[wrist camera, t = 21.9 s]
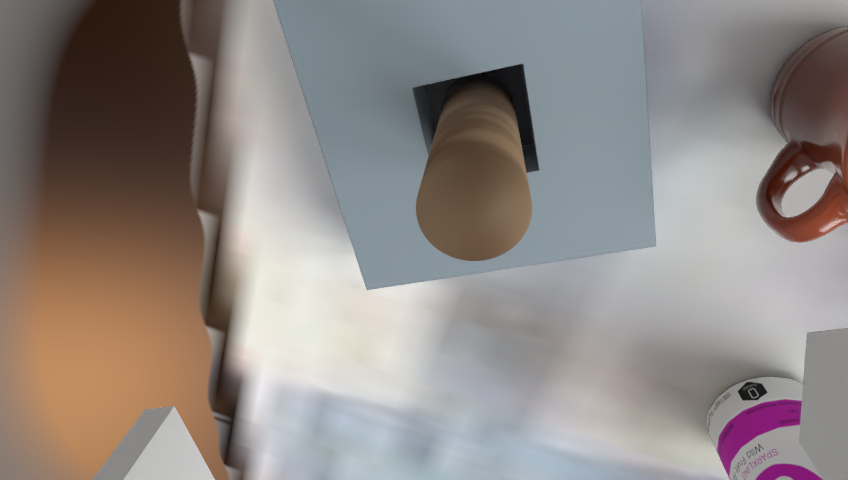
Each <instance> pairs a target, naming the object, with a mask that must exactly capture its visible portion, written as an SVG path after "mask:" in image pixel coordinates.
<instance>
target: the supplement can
mask: <svg viewBox="0 0 848 480" xmlns="http://www.w3.org/2000/svg"><path fill="white" fill-rule="evenodd" d="M802 393H803V384H802V383H799V382H797V381H795V380H792V379H789V378H779V377H759V378H753V379H747V380H745V381H742V382H740V383H738V384H735V385H733V386H731V387H730V388H728V389H727V390H726V391H725V392H723V393H722V394H721V395H720V396H719V397H718V398H717V399H716V400H715V402H714V403H713V405H712V407H711V408H710V410H709V412H708V414H707V423H706V428H707V430H708V432H709V435H710V437H711V440H712V442H713V444H714V446H715V448H716V451H717V453H718V455H719V457H720V459H721V461H722V464H723V466H724V468H725V470H726V472H727V474H728V477H729V479H730V480H823V479H822V477H821V476H820V474H819V473H818V471H817V470H816V468H815V467H814V465H813V463H812V462H811V460H810V459H809V457H808V456H807V454H806V452H805V451H804V449H803V448H802V446H801V445H800V443H799V432H800V419H801V406H802Z"/></svg>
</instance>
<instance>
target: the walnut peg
mask: <svg viewBox="0 0 848 480" xmlns="http://www.w3.org/2000/svg"><path fill="white" fill-rule="evenodd" d="M416 216H417V221H418V224H419V227H420V229H421V231H422V233H423V234H424V236H425V237H426V239H427V240H428V241H429V242H430V243H431V244H432V245H433V246H434V247H435V248H436V249H438V250H439V251H441V252H442V253H444V254H446V255H448V256H450V257H453V258H456V259H460V260H465V261H483V260H488V259H492V258H495V257H498V256H500V255H502V254H504V253H506V252H507V251H509V250H511V249H512V248H513V247H514V246H515V245H516V244H517V243H518V242H519V241H520V240H521V239H522V237H523V236H524V235H525V233H526V231H527V229H528V227H529V224H530V221H531V216H532V200H531V195H530V189H529V184H528V178H527V173H526V167H525V162H524V156H523V151H522V145H521V140H520V134H519V129H518V123H517V118H516V112H515V107H514V101H513V97H512V94H511V91H510V89H509V88H508V86H507V85H506V84H505V83H504V82H503V81H502V80H501V79H500V78H499V77H497V76H495V75H493V74H490V73H486V72H482V73H477V74H473V75H468V76H464V77H460V78H459V79H458V80H456V81H455V82H454V83H453V84H452V86H451V87H450V88H449V90H448V92H447V94H446V97H445V100H444V104H443V107H442V111H441V114H440V118H439V121H438V125H437V128H436V132H435V135H434V139H433V142H432V146H431V149H430V153H429V156H428V160H427V164H426V167H425V171H424V174H423V178H422V181H421V185H420V188H419V192H418V195H417V200H416Z"/></svg>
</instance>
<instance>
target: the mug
mask: <svg viewBox="0 0 848 480" xmlns="http://www.w3.org/2000/svg"><path fill="white" fill-rule="evenodd" d="M770 113H771V118H772V120H773V122H774V124H775V126H776V128H777V129H778V131H779V133H780V134H781V136H782V137H783V138H784V139H785V140H786V141H787V142H788V143H787V144H786V145H785V146H784V148H783V149H782V150H781V151H780V152H779V153H778V155H777V156H776V158H775V159H774V161H773V163H772V164H771V166H770V168H769V169H768V171H767V172H766V174H765V176H764V177H763V179H762V180H761V182H760V184H759V187H758V190H757V195H756V205H757V209H758V212H759V214H760V216H761V218H762V219H763V220H764V222H765V223H766V224H767V225H768V226H769V227H770V228H771V229H772V230H773V231H774V232H775V233H776V234H777V235H779V236H780V237H782V238H784V239H785V240H788V241H791V242H799V243H801V242H808V241H812V240H815V239H817V238H820V237H822V236H824V235H826V234H827V233H829V232H831V231H833V230H834V229H836V228H837V227H839V226H841V225H843V224H845V223H848V26H847V27H841V28H836V29H833V30H830V31H827V32H825V33H822V34H820V35H818V36H816V37H815V38H813V39H811V40H809V41H808V42H807V43H805V44H804V45H803V46H801V47H800V48H799V49H798V50H797V51H796V52H794V53H793V54H792V56H791V57H790V58H789V59H788V60H787V61H786V63H785V64H784V65H783V67H782V68H781V70H780V72H779V73H778V75H777V77H776V80H775V82H774V85H773V88H772V92H771V99H770ZM819 168H822V169H826V170H829V171H831V172H833V173H835V174H834V176H833V178H832V179H831V181H830V182H829V184H828V186H827V188H826V190H825V192H824V194H823V195H822V197H821V198H820V199H819V200H818V201H817V202H816V203H815V204H814V205H813V206H812V207H811V208H809V209H808V210H806V211H805V212H803V213H802V214H799V215H797V216H794V217H790V218H786V217H785V216H784V214H783V212H782V208H781V203H782V199H783V197H784V194H785V193H786V191H787V190H788V188H789V187H790V186H791V185H792V184H793V183H794V182H795V181H797V180H798V179H799V178H801V177H802V176H804V175H806V174H807V173H809V172H811V171H813V170H815V169H819Z"/></svg>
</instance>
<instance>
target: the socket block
mask: <svg viewBox="0 0 848 480" xmlns="http://www.w3.org/2000/svg"><path fill="white" fill-rule="evenodd" d="M273 1H274V4H275V7H276V10H277V14H278V17H279V20H280V23H281V26H282V29H283V32H284V35H285V38H286V41H287V44H288V48H289V51H290V54H291V57H292V60H293V63H294V66H295V69H296V72H297V75H298V79H299V82H300V85H301V88H302V91H303V94H304V97H305V100H306V103H307V106H308V109H309V113H310V116H311V119H312V122H313V125H314V128H315V131H316V134H317V137H318V140H319V144H320V147H321V150H322V153H323V156H324V159H325V162H326V165H327V168H328V171H329V175H330V178H331V181H332V184H333V187H334V190H335V193H336V196H337V199H338V202H339V205H340V209H341V212H342V215H343V218H344V221H345V224H346V227H347V230H348V233H349V236H350V240H351V243H352V246H353V249H354V252H355V255H356V258H357V261H358V264H359V267H360V270H361V274H362V277H363V280H364V283H365V286H366V289H367V290H370V289H377V288H383V287H390V286H397V285H403V284H410V283H416V282H423V281H430V280H436V279H443V278H449V277H456V276H463V275H469V274H476V273H483V272H489V271H496V270H502V269H509V268H516V267H522V266H529V265H535V264H542V263H549V262H555V261H562V260H568V259H575V258H582V257H588V256H595V255H601V254H608V253H615V252H621V251H628V250H635V249H641V248H648V247H654V246H656V236H655V220H654V203H653V187H652V171H651V154H650V138H649V121H648V105H647V89H646V72H645V56H644V39H643V23H642V7H641V0H273ZM518 64H521V70H522V76H523V83H524V89H525V96H526V102H527V109H528V115H529V122H530V128H531V135H532V141H533V144H530V145H525V146H522V151H523V156H524V162H525V167H526V173H527V178H528V184H529V189H530V195H531V200H532V216H531V221H530V224H529V227H528V229H527V231H526V233H525V235H524V236H523V237H522V239H521V240H520V241H519V242H518V243H517V244H516V245H515V246H514V247H513V248H512V249H511V250H509V251H507V252H506V253H504V254H502V255H500V256H498V257H495V258H492V259H488V260H483V261H465V260H460V259H456V258H453V257H450V256H448V255H446V254H444V253H442V252H441V251H439V250H438V249H436V248H435V247H434V246H433V245H432V244H431V243H430V242H429V241H428V240H427V239H426V237H425V236H424V234H423V233H422V231H421V229H420V227H419V224H418V221H417V216H416V200H417V195H418V192H419V188H420V185H421V181H422V178H423V174H424V171H425V167H426V164H427V160H428V156H429V153H430V149H431V146H432V142H433V139H434V135H435V128H434V123H433V119H432V115H431V110H430V106H429V101H428V97H427V93H426V88H425V85H427V84H432V83H436V82H441V81H445V80H450V79H454V78H459V77H464V76H468V75H473V74H477V73H482V72H486V71H491V70H495V69H500V68H505V67H509V66H514V65H518Z"/></svg>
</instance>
